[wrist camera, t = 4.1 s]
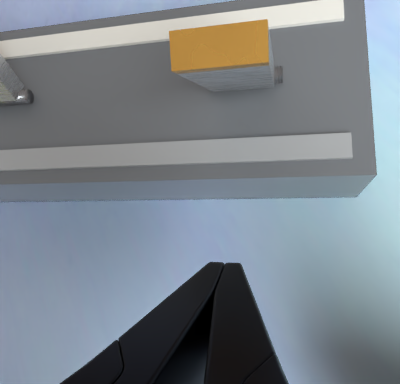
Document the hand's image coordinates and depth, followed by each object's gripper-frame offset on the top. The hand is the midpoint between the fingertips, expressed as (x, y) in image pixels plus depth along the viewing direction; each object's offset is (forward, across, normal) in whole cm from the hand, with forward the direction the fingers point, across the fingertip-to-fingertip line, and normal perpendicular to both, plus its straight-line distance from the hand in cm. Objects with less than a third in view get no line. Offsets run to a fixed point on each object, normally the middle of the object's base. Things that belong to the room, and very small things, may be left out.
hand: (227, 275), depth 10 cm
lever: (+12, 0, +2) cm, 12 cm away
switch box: (+16, -8, -2) cm, 18 cm away
